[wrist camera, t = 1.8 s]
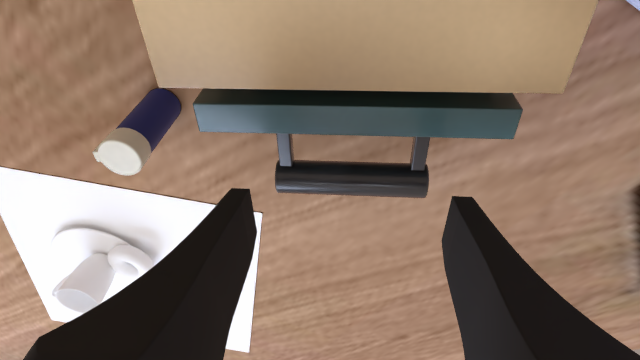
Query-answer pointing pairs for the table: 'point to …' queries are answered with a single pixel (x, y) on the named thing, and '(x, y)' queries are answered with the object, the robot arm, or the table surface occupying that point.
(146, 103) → the pen
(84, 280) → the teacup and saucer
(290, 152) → the drawer
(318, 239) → the table surface
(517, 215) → the table surface
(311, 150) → the table surface
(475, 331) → the robot arm
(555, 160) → the table surface
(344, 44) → the cabinet
